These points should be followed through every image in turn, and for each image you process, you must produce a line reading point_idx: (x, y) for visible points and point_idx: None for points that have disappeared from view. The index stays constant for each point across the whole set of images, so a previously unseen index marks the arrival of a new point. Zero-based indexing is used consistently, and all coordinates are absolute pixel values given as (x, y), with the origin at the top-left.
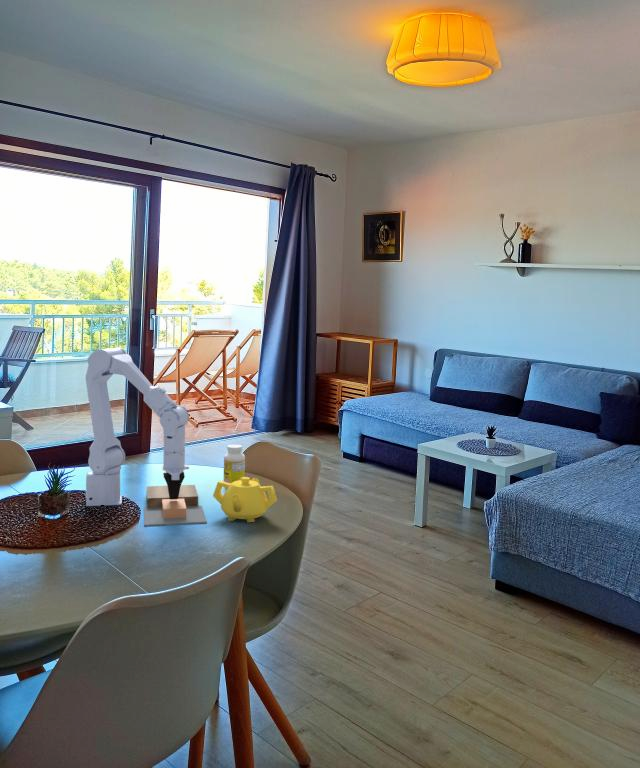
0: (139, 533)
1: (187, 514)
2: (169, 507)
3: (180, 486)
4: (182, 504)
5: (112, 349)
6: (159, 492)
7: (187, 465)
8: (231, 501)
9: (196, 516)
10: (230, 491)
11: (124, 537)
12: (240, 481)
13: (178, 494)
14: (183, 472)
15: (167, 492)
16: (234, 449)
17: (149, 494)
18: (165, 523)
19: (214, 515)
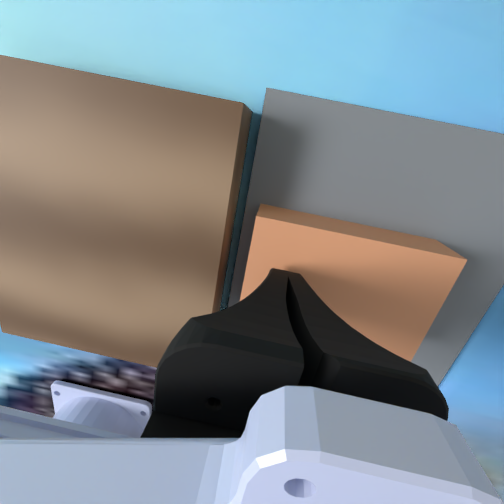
0: (488, 429)
1: (390, 220)
2: (392, 334)
3: (338, 317)
4: (374, 258)
5: None
6: (111, 308)
7: (286, 470)
8: None
9: (453, 183)
10: None
11: (493, 467)
12: None
13: (308, 286)
14: (251, 361)
15: (116, 272)
16: None
17: (140, 355)
18: (462, 343)
19: (470, 50)
